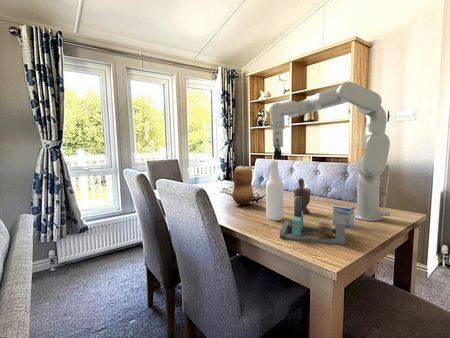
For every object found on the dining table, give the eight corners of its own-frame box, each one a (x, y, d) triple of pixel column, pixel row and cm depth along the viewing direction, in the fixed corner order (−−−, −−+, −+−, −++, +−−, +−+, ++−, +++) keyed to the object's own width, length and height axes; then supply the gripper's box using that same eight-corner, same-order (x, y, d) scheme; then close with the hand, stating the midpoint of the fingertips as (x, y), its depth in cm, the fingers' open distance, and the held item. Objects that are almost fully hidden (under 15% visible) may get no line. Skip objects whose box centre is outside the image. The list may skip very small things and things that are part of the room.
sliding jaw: (303, 225, 111) (302, 193, 110) (300, 236, 98) (300, 200, 97) (296, 224, 112) (295, 193, 111) (292, 235, 99) (292, 200, 98)
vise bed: (342, 232, 105) (342, 214, 105) (344, 245, 92) (345, 224, 92) (284, 227, 114) (284, 210, 114) (279, 238, 101) (279, 219, 101)
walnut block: (331, 235, 103) (331, 223, 102) (331, 239, 98) (331, 227, 98) (318, 234, 105) (318, 222, 104) (318, 238, 100) (318, 226, 100)
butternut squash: (252, 207, 152) (251, 167, 150) (231, 207, 155) (229, 167, 152) (254, 202, 166) (253, 165, 164) (234, 202, 168) (233, 165, 166)
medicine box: (332, 224, 116) (332, 206, 116) (336, 222, 119) (336, 204, 119) (350, 228, 111) (350, 209, 110) (353, 225, 114) (354, 207, 113)
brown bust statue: (314, 216, 130) (314, 178, 128) (297, 216, 130) (297, 179, 129) (307, 210, 142) (307, 175, 140) (292, 210, 142) (292, 176, 140)
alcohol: (272, 221, 123) (271, 161, 120) (263, 217, 131) (262, 160, 128) (287, 219, 126) (286, 160, 124) (277, 215, 135) (276, 159, 132)
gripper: (283, 125, 124) (284, 159, 126) (285, 127, 141) (285, 157, 143) (268, 125, 126) (269, 159, 128) (271, 127, 143) (272, 157, 145)
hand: (277, 158), depth 135 cm, fingers open, 9 cm apart
